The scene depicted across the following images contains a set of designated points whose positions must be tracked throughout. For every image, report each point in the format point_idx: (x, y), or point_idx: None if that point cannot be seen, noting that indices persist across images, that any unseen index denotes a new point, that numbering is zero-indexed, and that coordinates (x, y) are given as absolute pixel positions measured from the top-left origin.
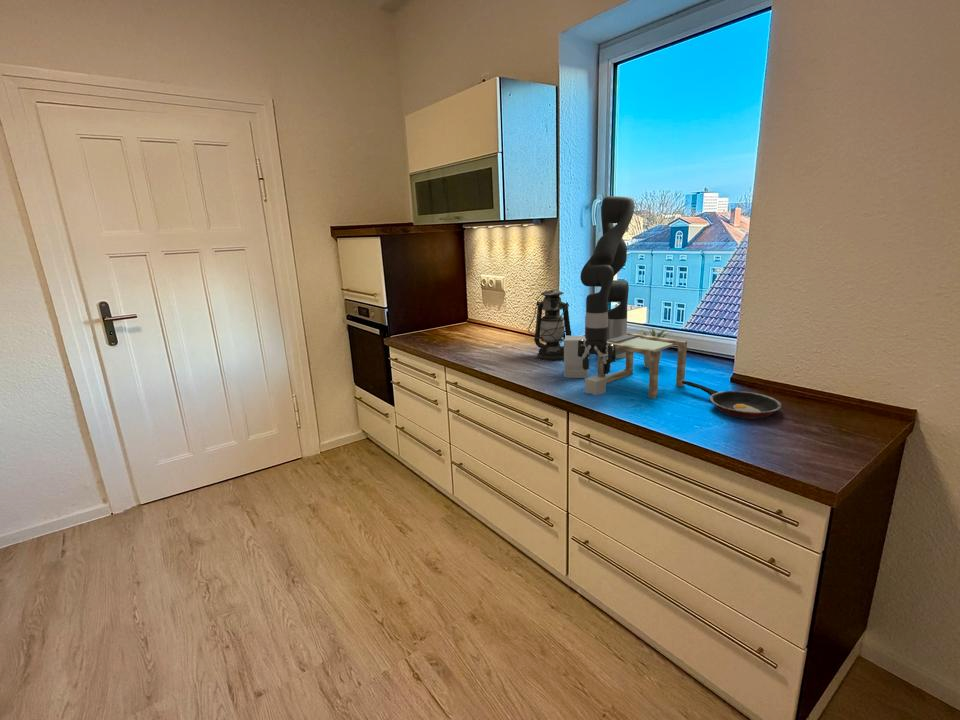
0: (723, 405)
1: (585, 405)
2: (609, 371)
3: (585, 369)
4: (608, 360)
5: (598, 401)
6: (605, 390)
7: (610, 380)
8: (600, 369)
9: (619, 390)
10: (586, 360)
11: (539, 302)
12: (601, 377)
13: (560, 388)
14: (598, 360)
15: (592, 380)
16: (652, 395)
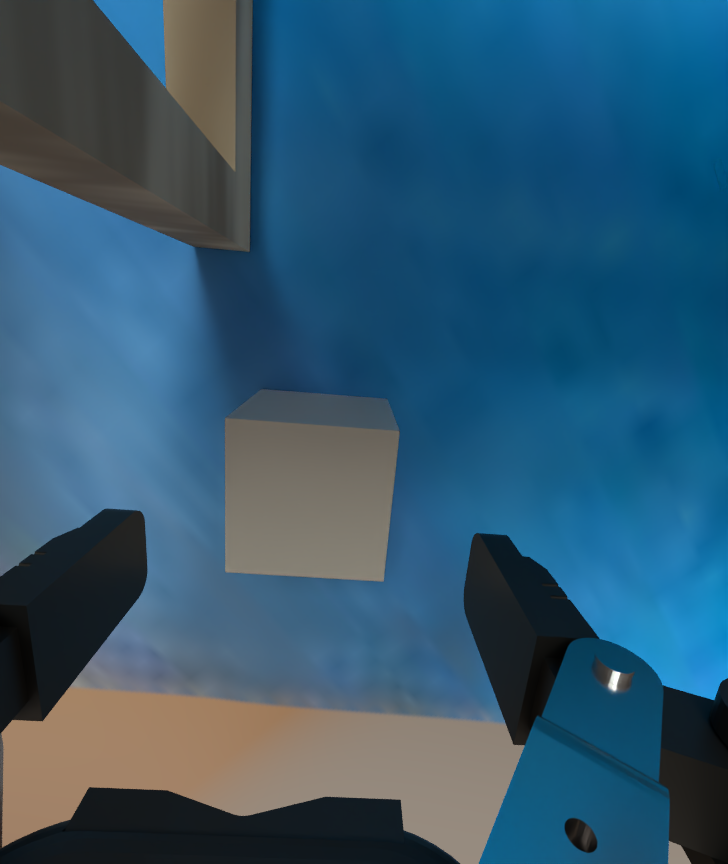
0: None
1: (430, 704)
2: (538, 572)
3: (144, 578)
4: (694, 856)
5: (459, 605)
6: (387, 403)
7: (247, 77)
8: (160, 213)
9: (464, 287)
10: (50, 659)
11: None
12: (338, 431)
13: None
14: (11, 162)
15: (326, 576)
16: None
